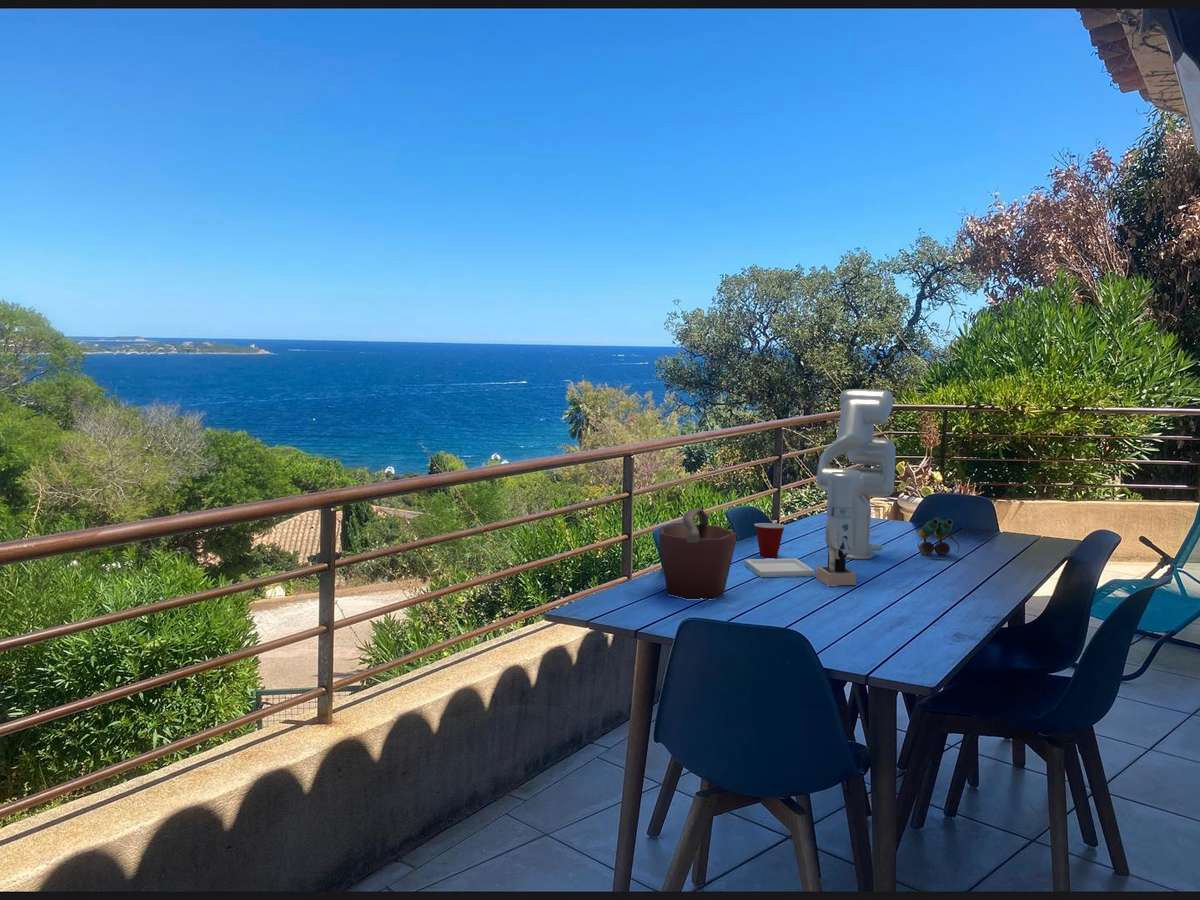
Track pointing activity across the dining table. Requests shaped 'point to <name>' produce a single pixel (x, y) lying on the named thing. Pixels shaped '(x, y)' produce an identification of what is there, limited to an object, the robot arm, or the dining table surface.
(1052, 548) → the dining table surface
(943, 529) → the binoculars
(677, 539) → the bucket
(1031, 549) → the dining table surface
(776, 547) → the plastic cup
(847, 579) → the terracotta holder
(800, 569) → the plastic tray
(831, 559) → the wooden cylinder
